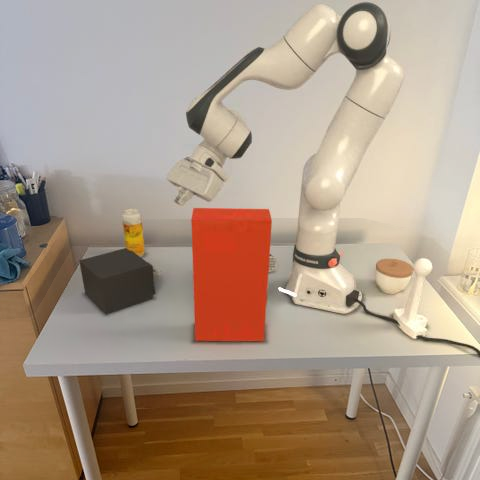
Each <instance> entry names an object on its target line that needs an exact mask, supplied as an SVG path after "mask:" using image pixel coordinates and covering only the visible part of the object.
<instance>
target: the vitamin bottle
mask: <svg viewBox="0 0 480 480" xmlns="http://www.w3.org/2000/svg"><path fill="white" fill-rule="evenodd" d="M121 219H122V226H123V227H122V228H123V235H124V242H125V248H127V249H128V250H130V251H133V252H134V253H136V254H137V255H138V256H140V257H143V256H144V254H145V252H146V250H145V238H144V230H143V219H142V213H141V211H140V210H139V209H138V208H127V209H125V210H123V211H122V215H121Z"/></svg>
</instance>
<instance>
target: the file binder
mask: <svg viewBox="0 0 480 480" xmlns="http://www.w3.org/2000/svg"><path fill="white" fill-rule="evenodd" d="M191 213H192V214H191V221H190V223H191V251H192V253H191V254H192V279H193V280H192V283H193V307H194V308H193V311H194V312H193V315H194V341H195V342H264V341H265V333H266V332H265V329H266V315H267V300H268V286H269V285H268V284H269V272H268V271H269V256H270V254H271V242H272V241H271V240H272V226H273V225H272V223H273V219H272V216H271V215H272V214H271V212H270V209H269V208H228V207H227V208H225V207H223V208H221V207H193V208H192V212H191Z"/></svg>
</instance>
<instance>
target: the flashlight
mask: <svg viewBox="0 0 480 480" xmlns="http://www.w3.org/2000/svg"><path fill="white" fill-rule="evenodd" d="M277 265H278V261H277V259H276V257H274V256H273V255H272V254H271V253H270V256H269V271H268V273H270V272H273V271H274V270H275V269H276V267H277Z"/></svg>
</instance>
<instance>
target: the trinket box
mask: <svg viewBox="0 0 480 480" xmlns="http://www.w3.org/2000/svg"><path fill="white" fill-rule="evenodd" d="M413 273H414V270H413V265H411V263H408V262H407V261H405V260H402V259H397V258H383V259H382V258H381V259H379V260H378V261H377V262H376V263H375V271H374V281H375V283H376V286H377V287H378V288H379V290H380V291H381V292H383V293H386V294H391V295H395V294H399V293H400V292H401V291H403V290H405V289H406V288H407V287H408V285H409V283H410V281H411V280H412V279H411V278H412V275H413Z"/></svg>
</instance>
